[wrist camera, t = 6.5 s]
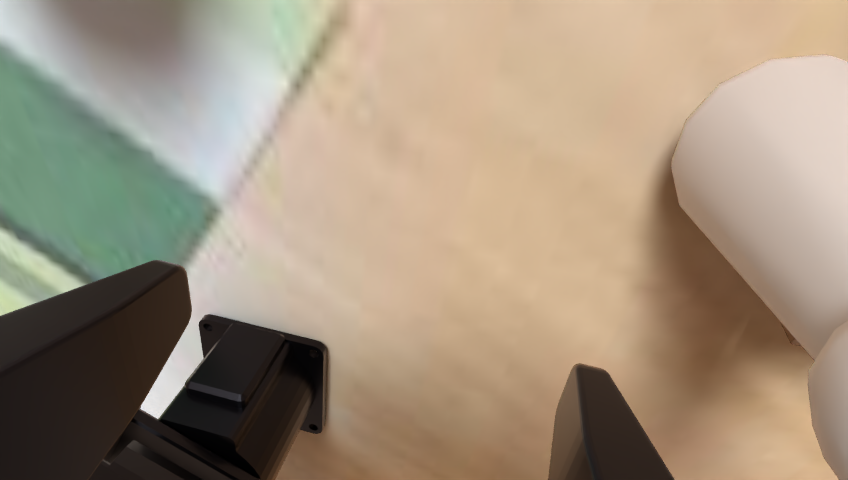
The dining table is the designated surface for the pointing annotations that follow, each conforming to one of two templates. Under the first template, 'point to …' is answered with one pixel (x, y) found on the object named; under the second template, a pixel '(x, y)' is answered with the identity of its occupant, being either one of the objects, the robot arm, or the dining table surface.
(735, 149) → the salt shaker
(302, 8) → the dining table surface
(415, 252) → the dining table surface
